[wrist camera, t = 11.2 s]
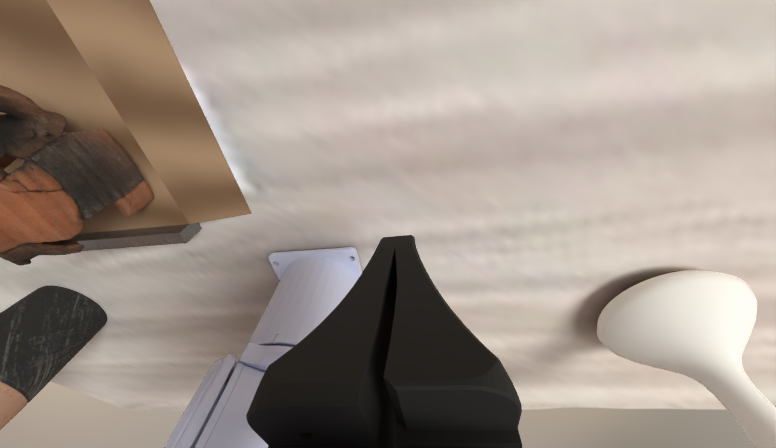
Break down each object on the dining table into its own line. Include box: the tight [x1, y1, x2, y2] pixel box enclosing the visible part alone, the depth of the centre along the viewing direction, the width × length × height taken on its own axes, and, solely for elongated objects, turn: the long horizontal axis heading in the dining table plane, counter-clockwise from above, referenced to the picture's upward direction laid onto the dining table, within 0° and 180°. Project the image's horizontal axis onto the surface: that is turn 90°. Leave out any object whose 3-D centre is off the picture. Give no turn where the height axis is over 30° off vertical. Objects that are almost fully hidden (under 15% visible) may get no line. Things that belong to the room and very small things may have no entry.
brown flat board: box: [0, 0, 251, 234], centre depth 20 cm, size 16×20×2 cm
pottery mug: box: [0, 85, 154, 265], centre depth 18 cm, size 12×10×8 cm
